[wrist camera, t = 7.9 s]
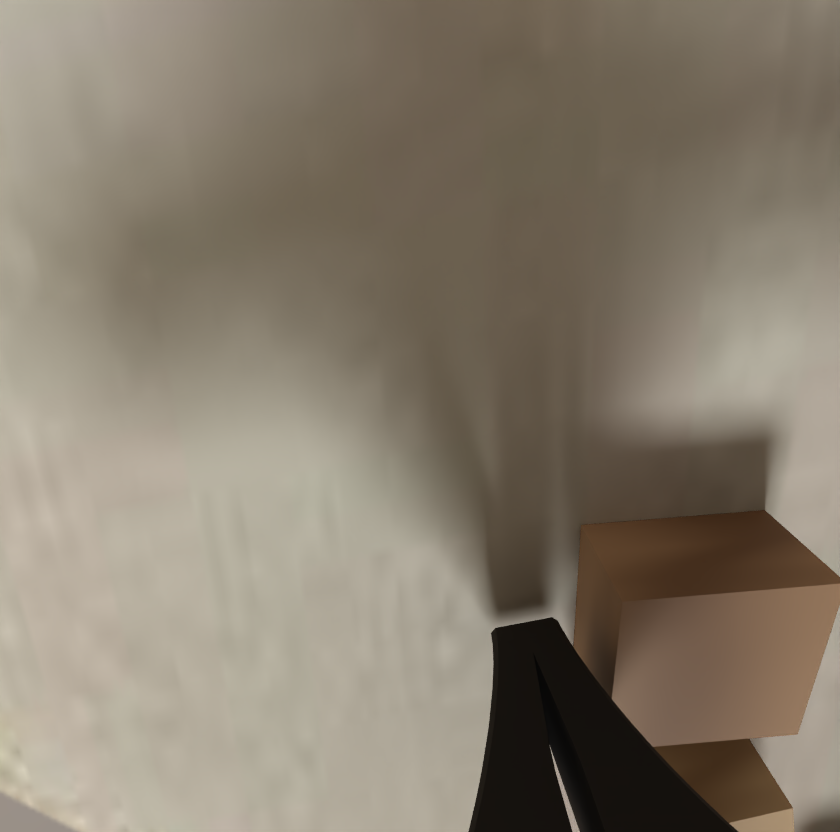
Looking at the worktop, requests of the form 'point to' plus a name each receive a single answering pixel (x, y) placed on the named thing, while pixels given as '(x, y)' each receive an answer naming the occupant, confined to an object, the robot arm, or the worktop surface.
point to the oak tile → (733, 783)
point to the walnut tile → (704, 624)
